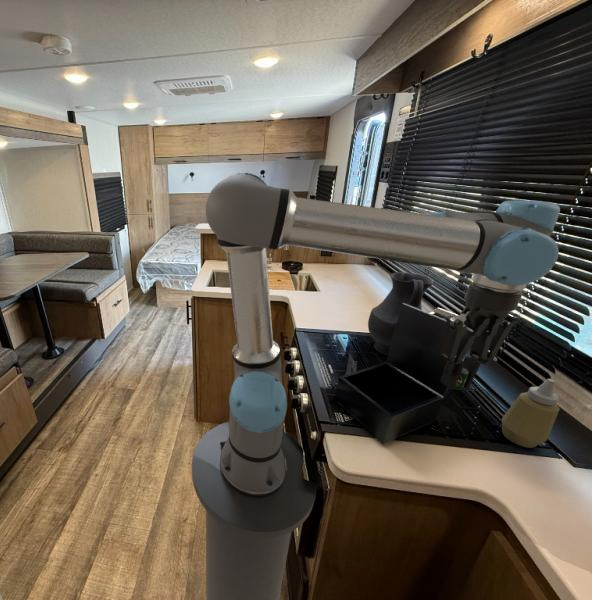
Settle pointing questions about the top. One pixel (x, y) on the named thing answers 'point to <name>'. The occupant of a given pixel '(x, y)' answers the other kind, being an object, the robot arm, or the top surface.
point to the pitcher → (396, 307)
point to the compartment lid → (420, 345)
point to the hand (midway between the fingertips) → (454, 384)
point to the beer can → (461, 379)
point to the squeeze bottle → (531, 416)
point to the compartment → (387, 401)
